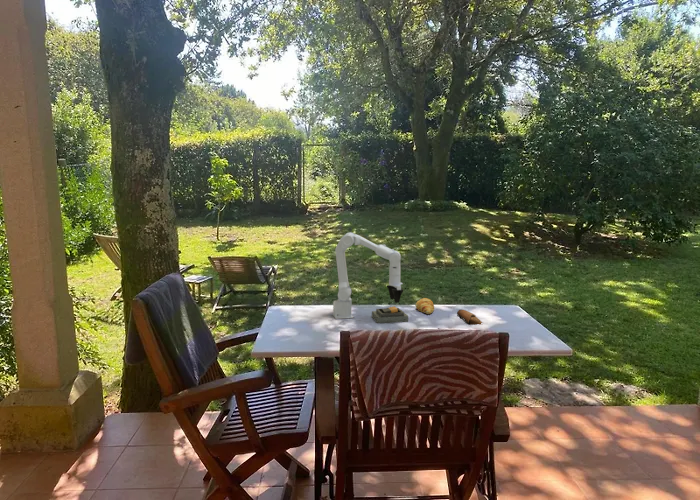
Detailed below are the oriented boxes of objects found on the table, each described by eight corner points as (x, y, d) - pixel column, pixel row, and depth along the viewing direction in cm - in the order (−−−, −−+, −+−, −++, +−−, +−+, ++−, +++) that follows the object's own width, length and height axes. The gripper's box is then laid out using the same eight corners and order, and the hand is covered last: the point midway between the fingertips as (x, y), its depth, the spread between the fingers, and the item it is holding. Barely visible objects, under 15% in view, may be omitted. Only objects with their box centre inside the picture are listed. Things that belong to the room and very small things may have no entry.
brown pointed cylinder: (484, 324, 266) (478, 313, 265) (473, 331, 266) (467, 320, 264) (471, 314, 283) (466, 304, 282) (460, 321, 283) (454, 311, 282)
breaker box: (377, 323, 266) (378, 314, 265) (371, 316, 277) (371, 308, 276) (408, 321, 269) (408, 313, 268) (400, 315, 281) (401, 307, 280)
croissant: (434, 321, 282) (441, 308, 281) (418, 313, 281) (425, 300, 280) (424, 310, 303) (431, 298, 302) (409, 302, 301) (416, 290, 301)
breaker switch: (384, 314, 269) (384, 311, 269) (382, 311, 274) (381, 309, 274) (397, 311, 271) (397, 308, 270) (394, 309, 276) (394, 306, 275)
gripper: (406, 277, 264) (406, 303, 266) (398, 271, 278) (397, 297, 280) (393, 277, 263) (393, 304, 265) (385, 272, 277) (385, 297, 279)
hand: (394, 300), depth 272 cm, fingers open, 7 cm apart
